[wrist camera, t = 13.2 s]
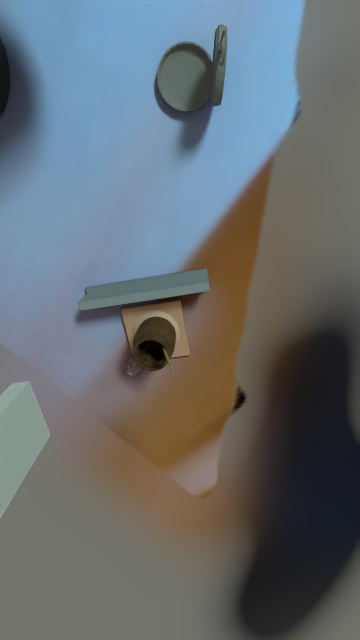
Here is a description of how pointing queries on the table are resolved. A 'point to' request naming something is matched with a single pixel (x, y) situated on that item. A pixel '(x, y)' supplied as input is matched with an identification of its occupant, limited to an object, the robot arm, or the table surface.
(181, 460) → the table surface
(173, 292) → the low wall
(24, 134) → the table surface
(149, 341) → the utensil holder
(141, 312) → the coaster
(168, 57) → the pocket watch
